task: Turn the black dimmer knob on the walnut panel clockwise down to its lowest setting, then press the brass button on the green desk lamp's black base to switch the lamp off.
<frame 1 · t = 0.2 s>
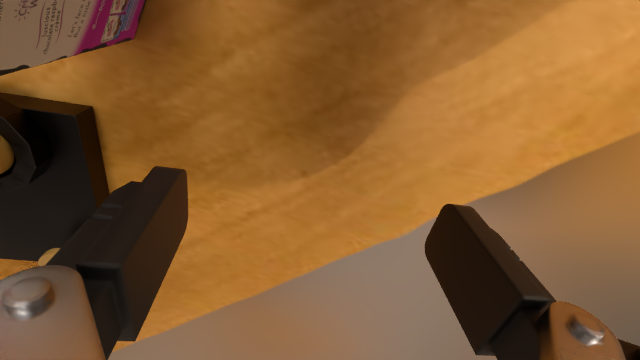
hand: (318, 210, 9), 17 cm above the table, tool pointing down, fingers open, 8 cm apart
lamp base: (48, 182, 27), on the table
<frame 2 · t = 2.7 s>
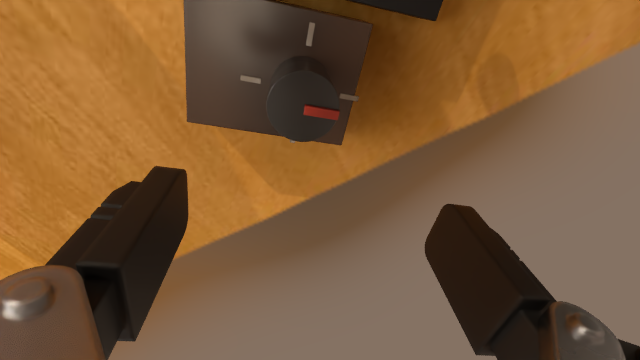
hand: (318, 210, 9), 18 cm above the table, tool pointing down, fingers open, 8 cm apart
dimmer panel: (276, 67, 24), on the table
dimmer knob: (302, 98, 20), point 5 cm above the table, hinge at 0.0°
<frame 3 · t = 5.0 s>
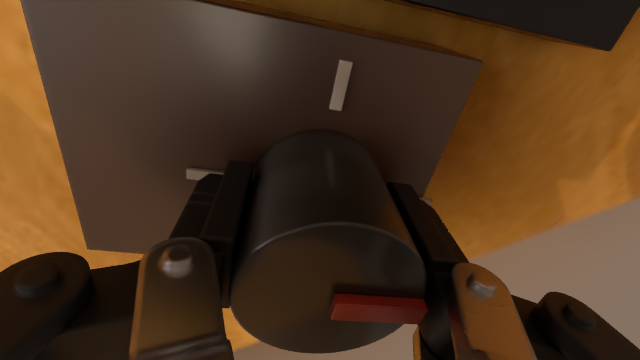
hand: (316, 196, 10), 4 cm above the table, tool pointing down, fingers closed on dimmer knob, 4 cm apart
dimmer panel: (267, 132, 12), on the table
dimmer knob: (322, 235, 8), point 5 cm above the table, hinge at 0.1°, touching gripper
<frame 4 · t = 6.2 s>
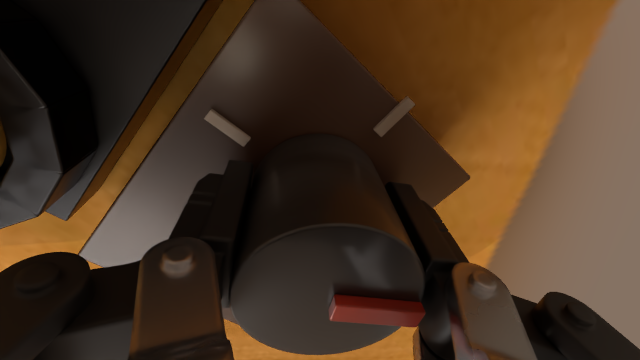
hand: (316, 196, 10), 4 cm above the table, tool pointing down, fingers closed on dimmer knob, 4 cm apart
dimmer panel: (274, 177, 14), on the table
dimmer knob: (321, 237, 8), point 5 cm above the table, hinge at -60.9°, touching gripper
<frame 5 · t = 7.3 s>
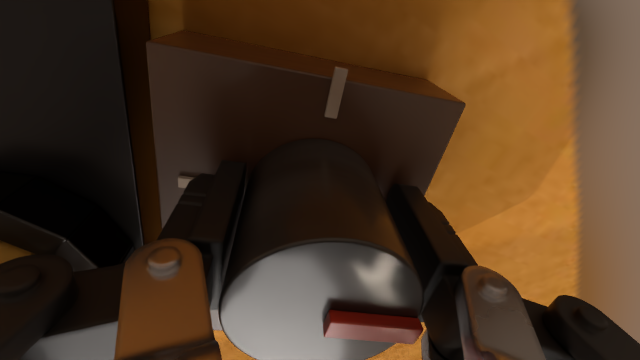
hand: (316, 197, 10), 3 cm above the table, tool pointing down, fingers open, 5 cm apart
lamp base: (8, 100, 11), on the table
dimmer panel: (289, 193, 14), on the table
dimmer knob: (316, 247, 8), point 5 cm above the table, hinge at -93.2°
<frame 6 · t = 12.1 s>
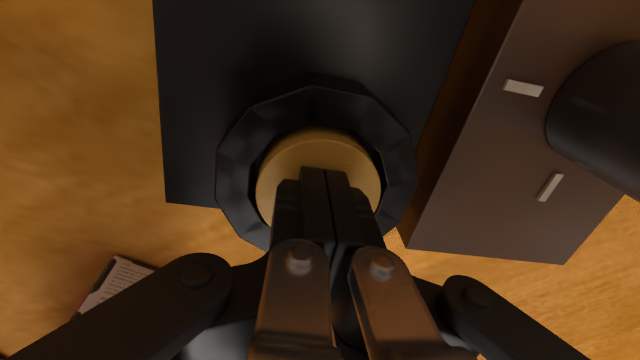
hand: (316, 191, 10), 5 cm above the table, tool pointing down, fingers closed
candy bar box: (132, 314, 20), on the table
lamp base: (312, 18, 12), on the table
dimmer panel: (514, 124, 15), on the table
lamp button: (317, 184, 11), point 4 cm above the table, slide at -0.8 cm, touching gripper
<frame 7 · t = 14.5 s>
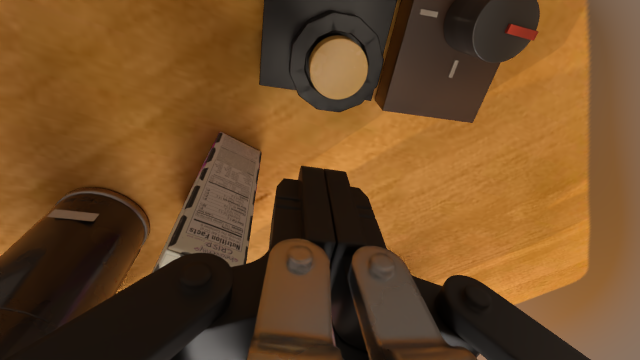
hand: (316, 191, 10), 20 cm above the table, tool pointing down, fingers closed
candy bar box: (223, 179, 33), on the table
dimmer panel: (439, 42, 27), on the table
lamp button: (337, 68, 23), point 4 cm above the table, slide at 0.1 cm
dimmer knob: (488, 24, 21), point 5 cm above the table, hinge at -93.2°
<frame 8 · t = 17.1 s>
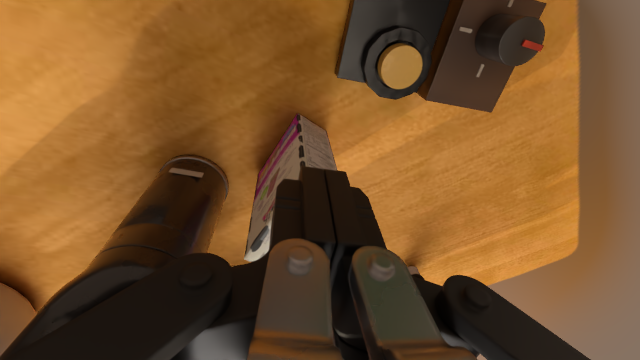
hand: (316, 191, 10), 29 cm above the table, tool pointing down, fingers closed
candy bar box: (292, 152, 42), on the table
lamp base: (394, 8, 33), on the table
dimmer panel: (468, 50, 36), on the table
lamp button: (399, 66, 32), point 4 cm above the table, slide at 0.1 cm
dimmer knob: (508, 39, 31), point 5 cm above the table, hinge at -93.2°
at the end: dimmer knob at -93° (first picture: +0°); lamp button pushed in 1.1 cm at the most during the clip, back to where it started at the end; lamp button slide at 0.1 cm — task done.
